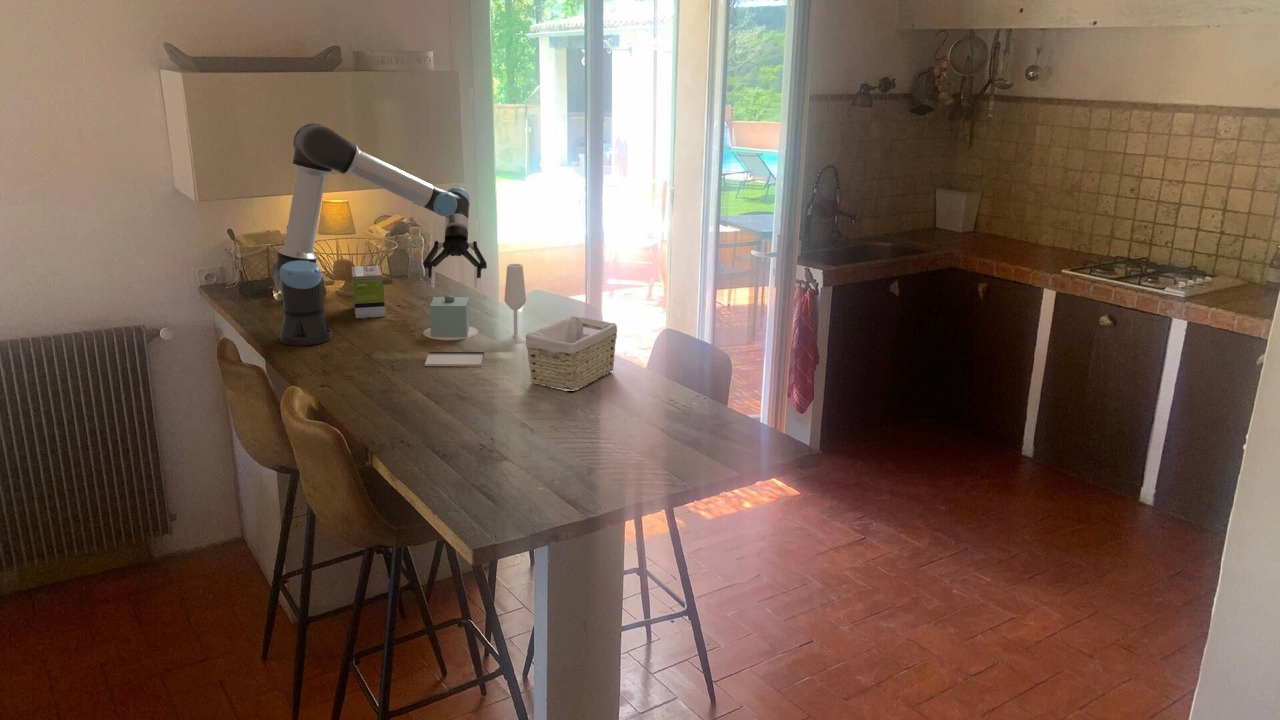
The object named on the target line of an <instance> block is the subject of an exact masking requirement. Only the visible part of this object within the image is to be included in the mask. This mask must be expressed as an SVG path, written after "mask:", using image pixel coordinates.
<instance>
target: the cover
mask: <svg viewBox="0 0 1280 720" xmlns="http://www.w3.org/2000/svg"><path fill="white" fill-rule="evenodd" d="M429 322H430V328H431V337H467V335H468V332H469V328H470V327H471V325H470V324H471V322H470V297H469V296H454V295H453V294H452V295H451V294H450V295H449V294H448V295H444V296H434V297H433V298H432V301H431V303H430V304H429Z"/></svg>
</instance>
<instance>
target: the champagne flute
mask: <svg viewBox="0 0 1280 720" xmlns="http://www.w3.org/2000/svg"><path fill="white" fill-rule="evenodd" d="M526 295H527V294H526V285H525V275H524V266H523V264H521V263H508V264H507V265H506V276H505V288H504V299H503V300H504V303H505V304H506V306H507V307H508V308H509V309H510V310H513V334H512V335H511V336H512V337H514V338H515V339H514V343H515V344H521V343H526V337H523V336H522V335H519V334H518V332H519V331H518V311H519V310H520V309H522V308H523V306H524V305H525V304H526V302H527V296H526Z"/></svg>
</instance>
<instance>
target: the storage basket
mask: <svg viewBox="0 0 1280 720" xmlns="http://www.w3.org/2000/svg"><path fill="white" fill-rule="evenodd" d="M617 327H618V326H617V323H615V322H610V321H609V322H608V321H604V320H599V319H592V318H588V317H585V316H584V317H583V316H582V317H581V316H578V315H577V316H576V315H571V316H568V317H566V318H563V319H560V320H558V321H555V322H552V323H551V324H548V325H545V326H543V327H540V328H538V329H535V330H533V331H531V332H527V334H525V339H526V341H525V346H526V350H527V358H528V366H529V373H530V382H531V384H533V383H535V384H540V385H545V386H548V387H554V388H562V389H569V390H575V389H577V388H580V387H582V386H584V387H586V386H585V385H586V384H588V385H590V384H592V383H591V382H593V381H594V382H596V381H598V380H599V379H598V378H600V377H601V378H603V377H602V376H604V375H605V374H607V373H609V372H610V371H612V370H613V371H614V365H615V364H614V363H615V353H616V343H617V341H616V340H617V337H618V335H617V334H618V328H617ZM584 328H586V329H587V328H588V329H593V330H596V331H597V332H595V333H592V334H586V333H584ZM598 330H599V331H598ZM613 371H612V372H613ZM609 374H610V373H609ZM607 375H608V374H607ZM605 376H606V375H605ZM605 376H604V377H605ZM601 378H600V379H601ZM597 379H598V380H597ZM595 380H596V381H595ZM594 382H593V383H594ZM589 383H590V384H589ZM535 384H534V385H535ZM540 385H539V386H540ZM548 387H547V388H548Z"/></svg>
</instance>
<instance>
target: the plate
mask: <svg viewBox="0 0 1280 720" xmlns="http://www.w3.org/2000/svg"><path fill="white" fill-rule="evenodd" d="M422 333H423V336H425V337H427V338H429V339H433V340H437V341H438V340H439V341H440V340H441V341H457V340H458V341H459V340H464V339H469V338H471V337H472V338H473V337H474V336H476V335H478V334H479V330H478V329H477V328H475V327H472V326H470V328H469V332H468V335H467V337H431V327H428V328H426V329H425V330H424V331H423V332H422Z"/></svg>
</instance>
